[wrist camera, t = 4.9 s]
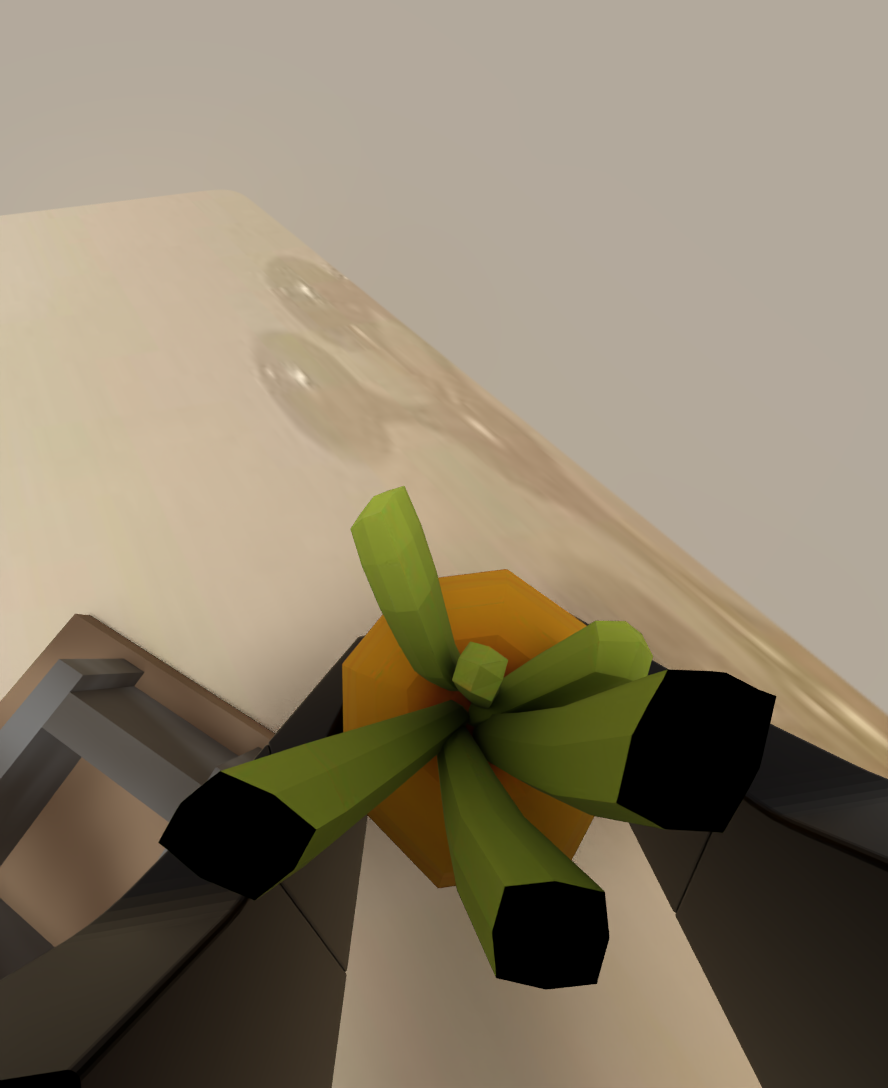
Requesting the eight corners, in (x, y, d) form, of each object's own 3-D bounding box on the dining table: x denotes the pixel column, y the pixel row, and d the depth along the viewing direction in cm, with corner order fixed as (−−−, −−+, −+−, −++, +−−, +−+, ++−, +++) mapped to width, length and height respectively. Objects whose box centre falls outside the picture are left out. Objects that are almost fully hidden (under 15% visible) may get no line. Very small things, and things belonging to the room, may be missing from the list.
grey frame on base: (67, 1224, 12) (-104, 1477, 8) (-186, 945, 14) (-399, 1041, 11) (317, 761, 16) (279, 790, 13) (90, 615, 19) (4, 605, 15)
